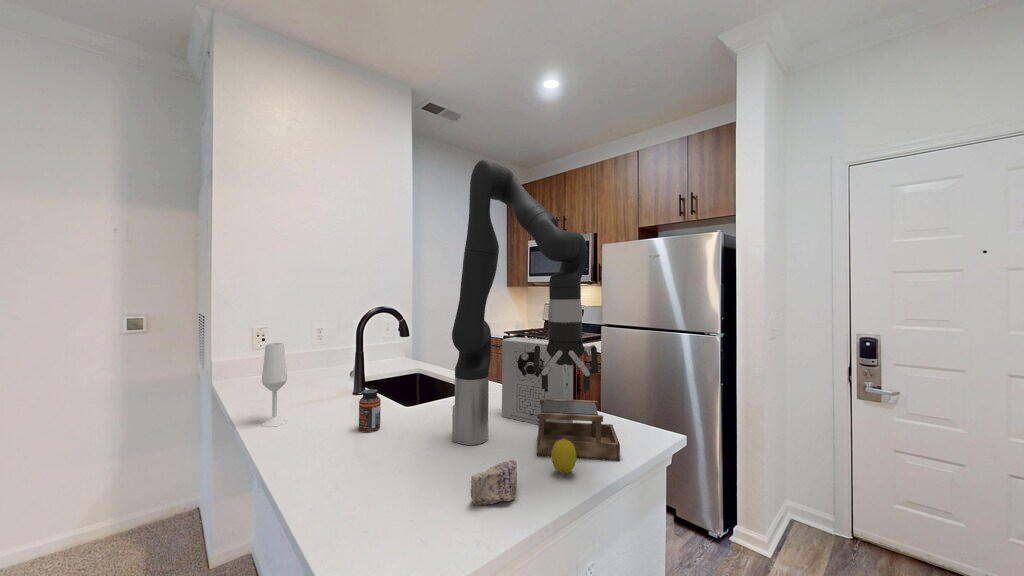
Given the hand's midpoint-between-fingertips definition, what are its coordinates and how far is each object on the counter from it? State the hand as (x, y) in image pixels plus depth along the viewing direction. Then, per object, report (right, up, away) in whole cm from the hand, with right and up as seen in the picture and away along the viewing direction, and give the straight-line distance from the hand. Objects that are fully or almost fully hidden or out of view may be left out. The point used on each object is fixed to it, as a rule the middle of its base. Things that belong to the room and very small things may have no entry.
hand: (565, 391), depth 89 cm
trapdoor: (+3, -10, +15) cm, 18 cm away
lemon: (0, -19, 0) cm, 19 cm away
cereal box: (-4, -19, +36) cm, 40 cm away
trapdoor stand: (+5, -18, +15) cm, 24 cm away
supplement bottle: (-54, -18, +26) cm, 62 cm away
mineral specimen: (-15, -19, -10) cm, 26 cm away
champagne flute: (-84, -18, +31) cm, 92 cm away
